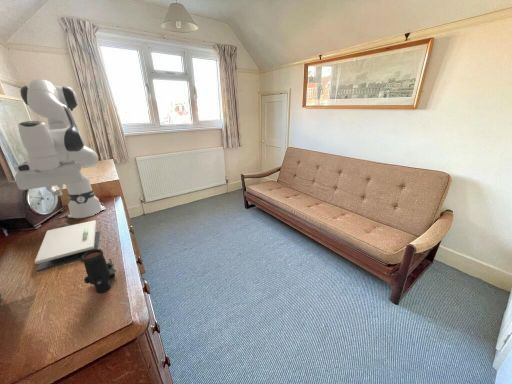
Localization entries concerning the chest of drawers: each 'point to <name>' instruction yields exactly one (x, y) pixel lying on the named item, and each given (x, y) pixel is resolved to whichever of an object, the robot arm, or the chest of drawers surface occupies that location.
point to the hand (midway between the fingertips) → (57, 195)
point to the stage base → (67, 257)
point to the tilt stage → (67, 241)
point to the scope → (98, 270)
